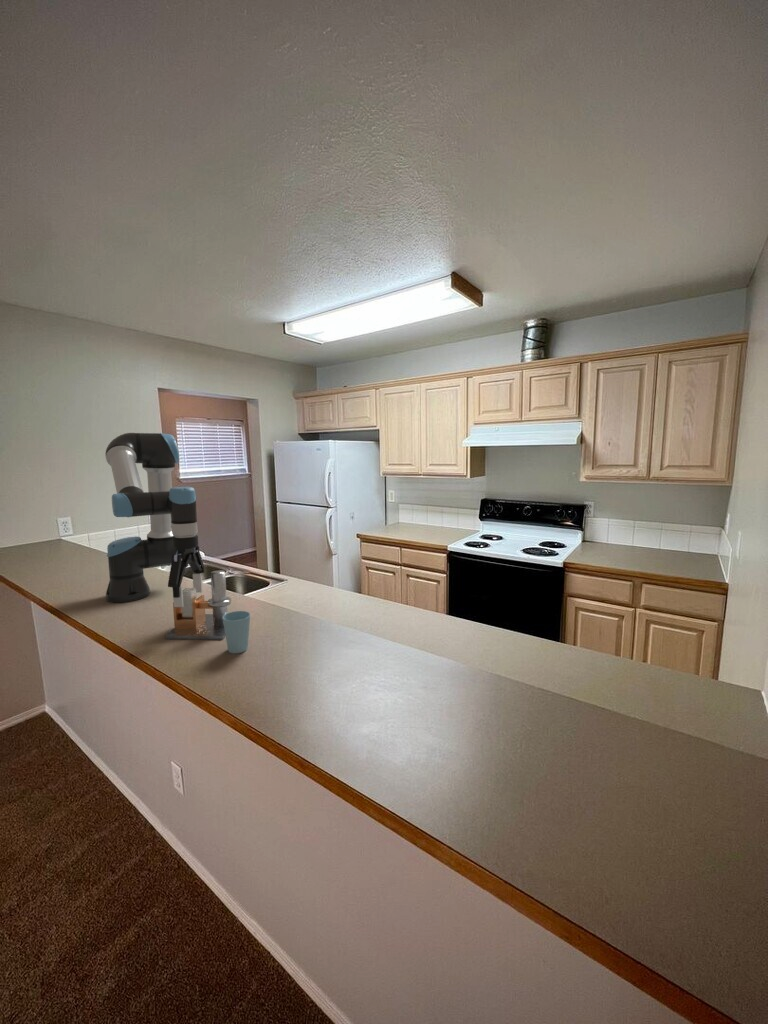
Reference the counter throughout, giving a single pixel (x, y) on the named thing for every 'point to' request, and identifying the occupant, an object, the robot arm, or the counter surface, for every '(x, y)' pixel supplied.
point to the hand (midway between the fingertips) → (188, 599)
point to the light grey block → (188, 602)
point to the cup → (237, 630)
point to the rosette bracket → (201, 622)
